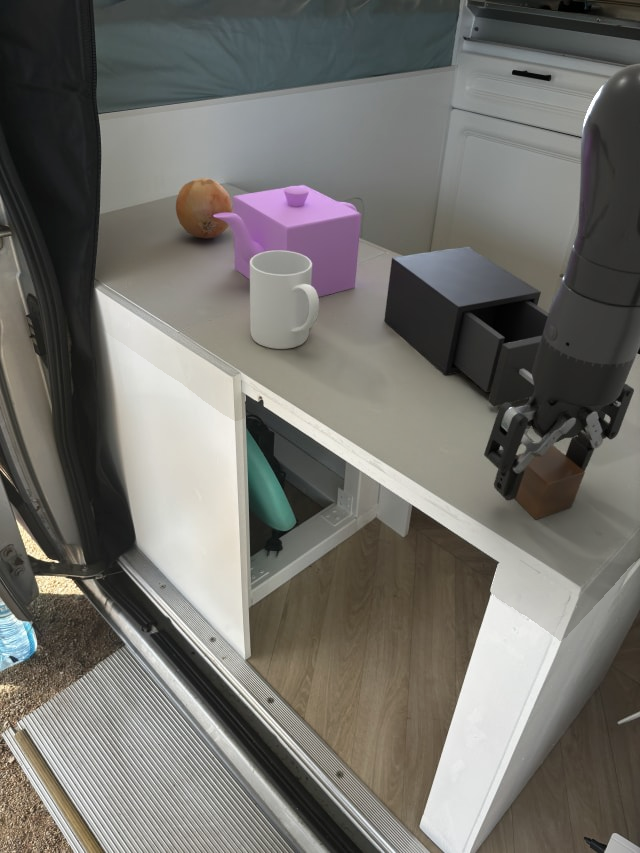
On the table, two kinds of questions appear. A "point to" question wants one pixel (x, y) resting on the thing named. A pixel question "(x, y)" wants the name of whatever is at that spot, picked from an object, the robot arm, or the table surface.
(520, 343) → the drawer
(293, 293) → the mug
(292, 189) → the teapot
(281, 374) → the table surface
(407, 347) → the table surface
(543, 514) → the block
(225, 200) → the onion
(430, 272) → the cabinet
